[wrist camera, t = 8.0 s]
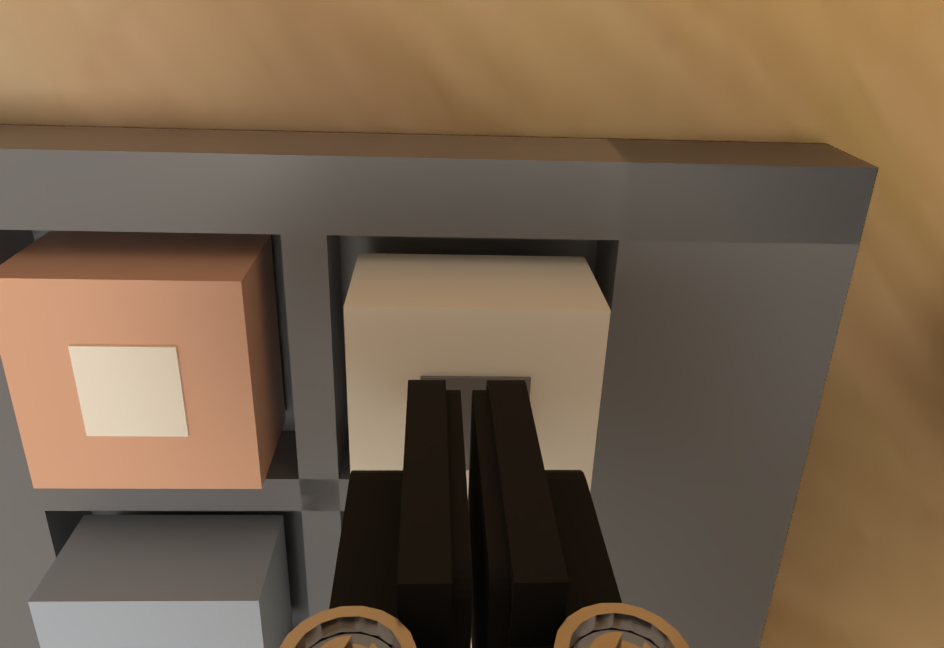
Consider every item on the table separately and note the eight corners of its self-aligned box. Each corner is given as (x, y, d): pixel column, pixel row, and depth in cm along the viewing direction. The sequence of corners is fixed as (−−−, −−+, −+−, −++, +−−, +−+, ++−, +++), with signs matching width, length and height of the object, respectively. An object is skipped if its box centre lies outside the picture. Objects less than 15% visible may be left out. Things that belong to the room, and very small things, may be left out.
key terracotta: (270, 234, 15) (240, 282, 13) (285, 418, 17) (261, 491, 15) (50, 230, 15) (-21, 279, 13) (88, 417, 17) (32, 490, 14)
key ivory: (584, 256, 15) (611, 311, 12) (566, 446, 16) (587, 526, 14) (358, 253, 14) (342, 309, 12) (364, 445, 16) (352, 526, 14)
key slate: (283, 515, 17) (257, 603, 15) (295, 657, 19) (275, 756, 16) (83, 514, 17) (25, 604, 14) (115, 658, 18) (68, 759, 16)
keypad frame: (827, 143, 15) (878, 167, 14) (713, 660, 21) (739, 726, 19) (-229, 119, 15) (-324, 141, 13) (-44, 667, 20) (-91, 735, 19)
